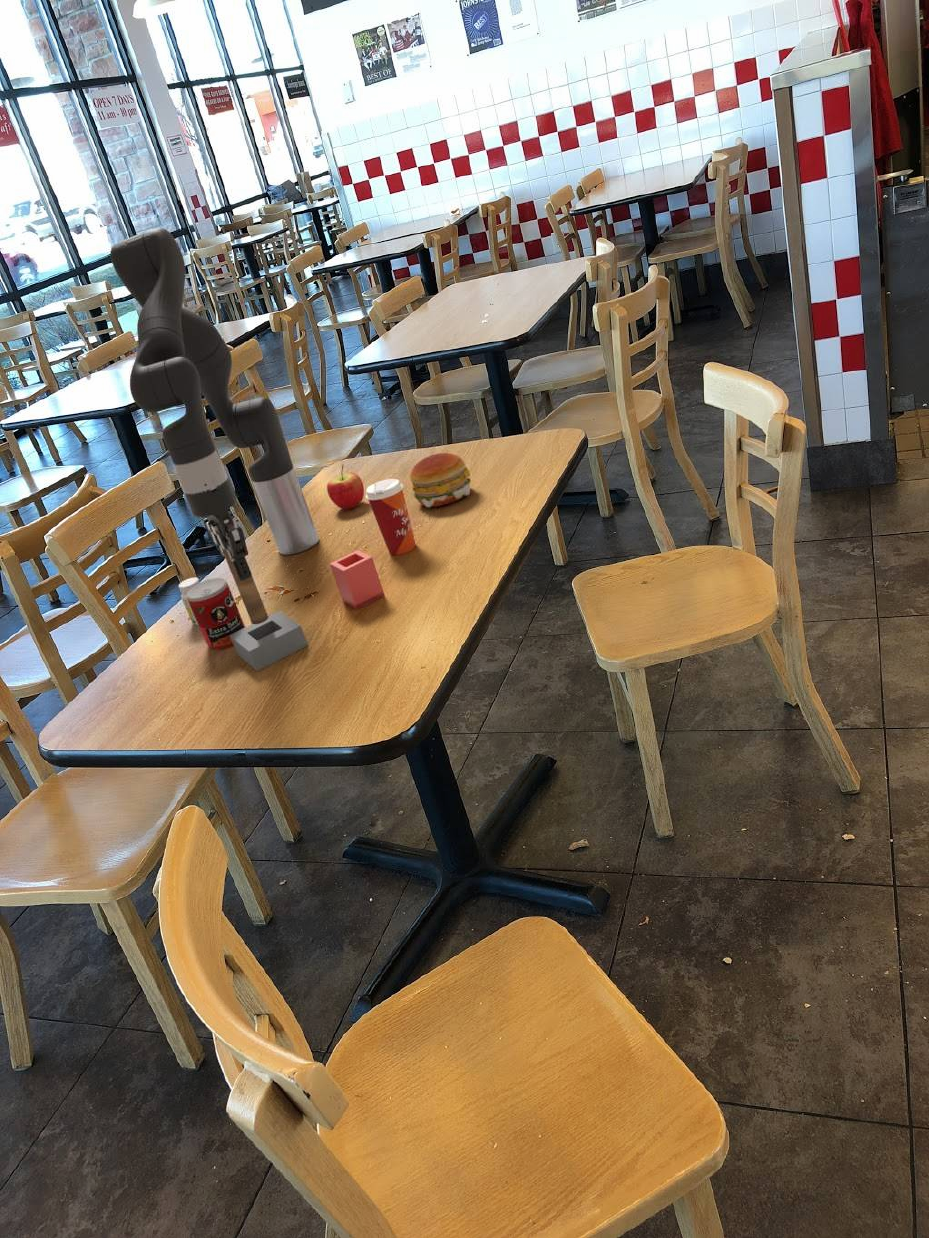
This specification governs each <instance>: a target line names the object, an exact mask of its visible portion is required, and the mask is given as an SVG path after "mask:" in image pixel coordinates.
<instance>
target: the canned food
mask: <svg viewBox="0 0 929 1238" xmlns="http://www.w3.org/2000/svg"><path fill="white" fill-rule="evenodd" d="M186 597H187V600H188V602H189V605H190V607H191V609H192V611H193V614H194V616H195V618H196V621H197V623H198V625H197V626H198V627H199V629H200V631H201V634H202V636H203V638H204V641H205V644H207V647H209V648H210V649H212V650H224V649H228V648H231V647H234V645H233V643H232V640H231V638H230V635H231V634H233V633H235V632H237V631H239V630H241V629H243V628H245V627H246V625H245V622H244V620H243V618H242V616H241V613H240V611H239V609H238V605H237V603H236V601H235V598H234V596H233V593H232V590H231V588H230V586H229V583H228V582H227V580H226V579H225V578H223V577H214V578H210V579H207V580H204V581H200V583H199V584H197V585H195V586H193V587H192V588H191V589H190V590H189V591H188V592H187V594H186Z"/></svg>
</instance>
